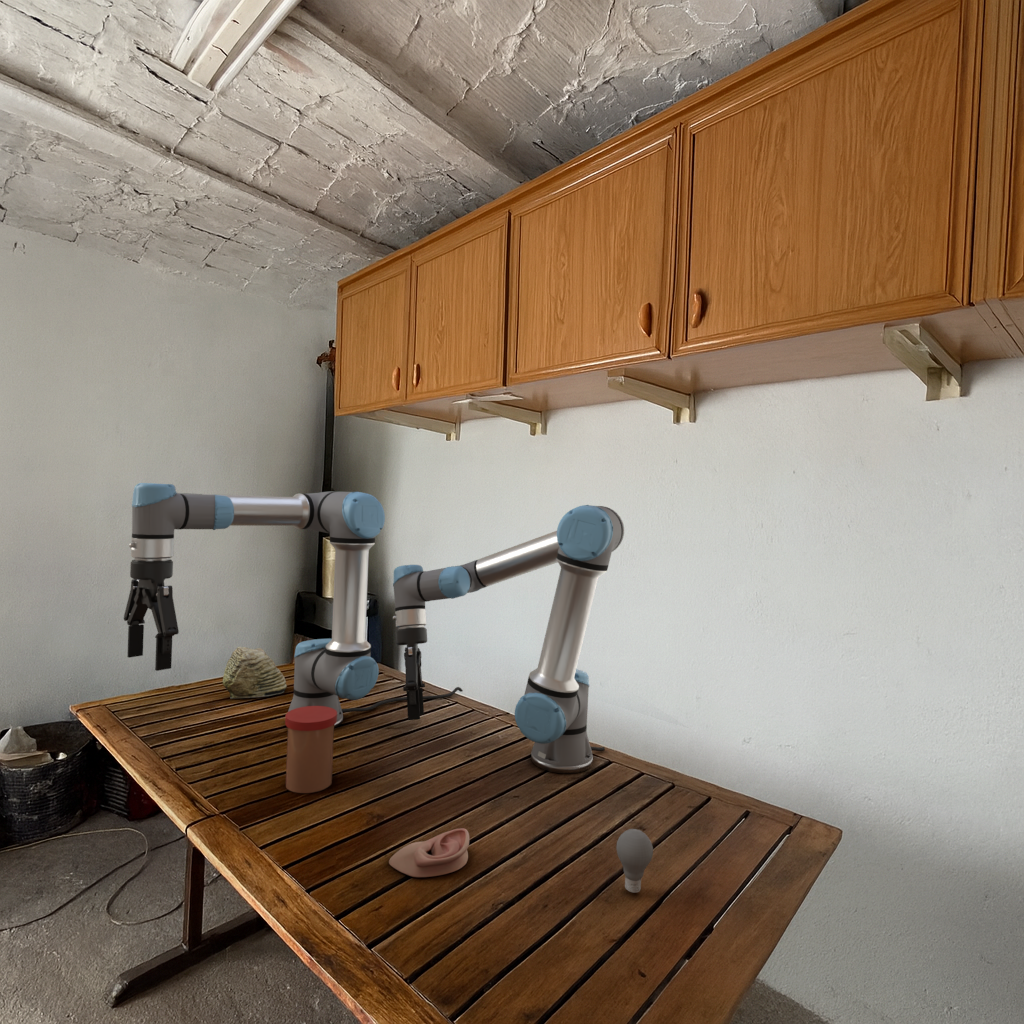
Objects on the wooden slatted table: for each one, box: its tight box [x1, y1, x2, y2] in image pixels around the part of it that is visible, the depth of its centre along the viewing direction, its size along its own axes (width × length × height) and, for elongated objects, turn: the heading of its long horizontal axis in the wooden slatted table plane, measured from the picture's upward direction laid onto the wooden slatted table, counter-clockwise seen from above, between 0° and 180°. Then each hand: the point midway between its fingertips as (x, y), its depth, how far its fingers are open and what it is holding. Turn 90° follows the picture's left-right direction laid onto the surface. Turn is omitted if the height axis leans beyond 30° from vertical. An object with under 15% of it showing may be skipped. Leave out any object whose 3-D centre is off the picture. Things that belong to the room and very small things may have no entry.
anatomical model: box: [388, 827, 470, 878], centre depth 112 cm, size 13×4×12 cm
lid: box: [284, 706, 337, 731], centre depth 140 cm, size 11×11×2 cm
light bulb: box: [615, 828, 654, 894], centre depth 106 cm, size 6×6×10 cm
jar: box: [285, 725, 335, 794], centre depth 140 cm, size 10×10×15 cm
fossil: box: [222, 646, 288, 699], centre depth 198 cm, size 9×18×15 cm, turn 132°
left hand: (148, 662), depth 129 cm, fingers open, 13 cm apart
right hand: (416, 717), depth 152 cm, fingers open, 13 cm apart
